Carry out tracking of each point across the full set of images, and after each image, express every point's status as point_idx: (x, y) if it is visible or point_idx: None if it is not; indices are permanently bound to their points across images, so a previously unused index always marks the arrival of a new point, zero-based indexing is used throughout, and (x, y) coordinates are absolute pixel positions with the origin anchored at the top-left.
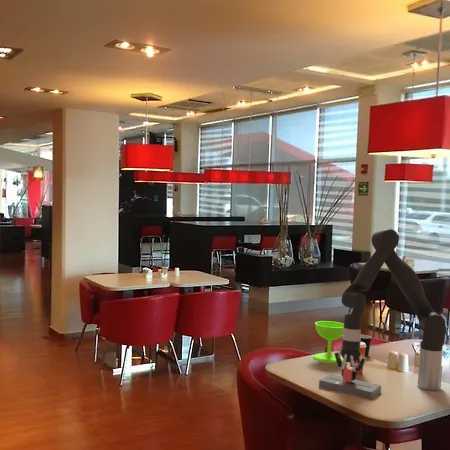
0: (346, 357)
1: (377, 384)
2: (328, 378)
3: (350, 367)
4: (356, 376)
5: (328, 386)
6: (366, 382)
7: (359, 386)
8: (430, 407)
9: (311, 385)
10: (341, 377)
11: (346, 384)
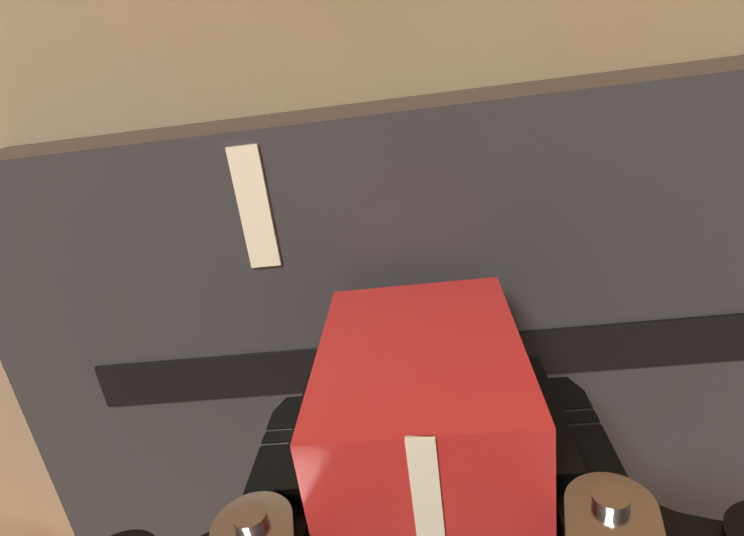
0: None
1: None
2: (101, 420)
3: (414, 499)
4: (590, 416)
5: None
6: (694, 109)
7: (651, 422)
8: None
9: (44, 493)
10: (185, 207)
11: None
